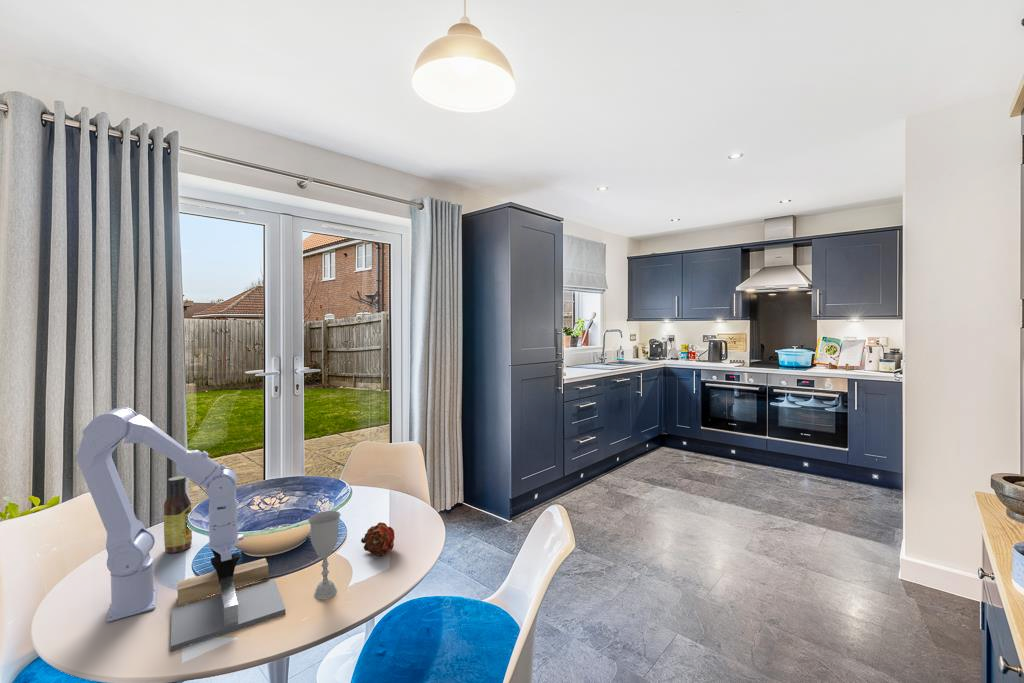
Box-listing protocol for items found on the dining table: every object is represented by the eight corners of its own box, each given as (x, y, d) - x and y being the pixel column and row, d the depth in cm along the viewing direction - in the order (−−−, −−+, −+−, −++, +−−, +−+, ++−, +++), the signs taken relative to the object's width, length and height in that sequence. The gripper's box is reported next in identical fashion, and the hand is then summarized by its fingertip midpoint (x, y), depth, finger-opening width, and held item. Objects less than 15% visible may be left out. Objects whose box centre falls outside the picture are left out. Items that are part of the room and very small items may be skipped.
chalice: (325, 605, 103) (324, 525, 102) (301, 598, 105) (301, 521, 104) (347, 587, 110) (347, 513, 109) (325, 581, 112) (324, 509, 111)
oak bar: (177, 598, 105) (177, 581, 105) (265, 573, 116) (265, 558, 116) (178, 607, 102) (177, 589, 102) (268, 580, 113) (268, 564, 113)
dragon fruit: (379, 569, 120) (373, 555, 131) (405, 545, 124) (397, 533, 135) (359, 546, 119) (354, 534, 130) (385, 521, 122) (379, 511, 133)
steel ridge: (220, 596, 104) (219, 579, 104) (232, 593, 105) (232, 576, 105) (224, 627, 93) (224, 608, 93) (238, 623, 95) (237, 604, 95)
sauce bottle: (192, 550, 127) (190, 479, 127) (163, 556, 124) (162, 483, 123) (192, 541, 133) (190, 473, 132) (165, 546, 129) (163, 477, 128)
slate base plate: (171, 613, 99) (171, 609, 99) (274, 583, 111) (274, 579, 111) (170, 651, 88) (170, 646, 88) (285, 613, 100) (285, 608, 100)
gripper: (246, 528, 105) (247, 586, 106) (239, 507, 117) (241, 559, 117) (209, 536, 101) (211, 596, 101) (206, 514, 113) (207, 568, 113)
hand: (224, 577), depth 109 cm, fingers open, 7 cm apart
